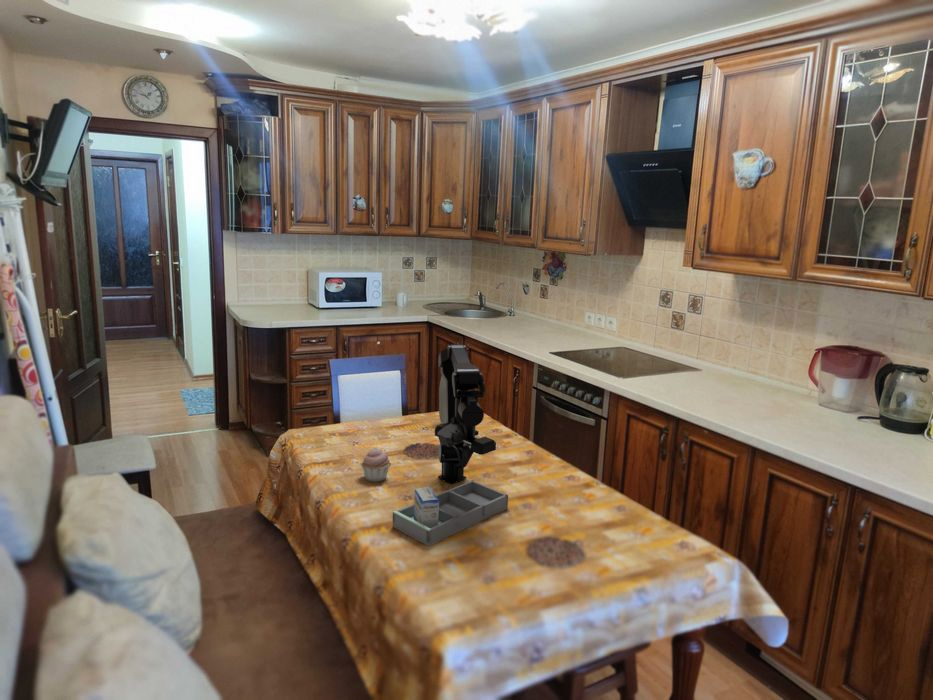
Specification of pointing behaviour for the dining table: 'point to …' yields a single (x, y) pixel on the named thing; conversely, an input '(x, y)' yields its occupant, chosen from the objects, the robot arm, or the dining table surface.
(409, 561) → the dining table surface
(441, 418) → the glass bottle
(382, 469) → the cupcake
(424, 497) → the medicine box
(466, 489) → the grey compartment tray
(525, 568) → the dining table surface
